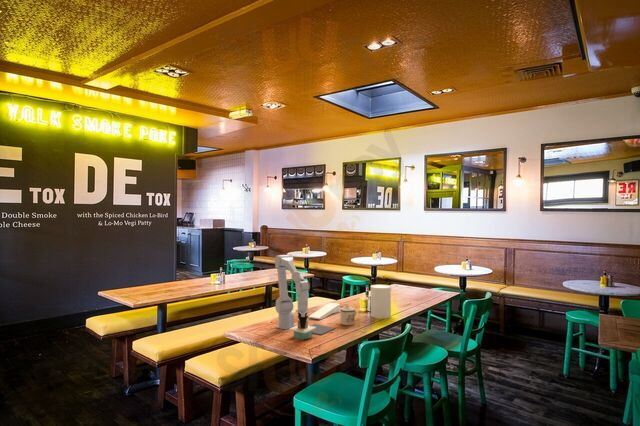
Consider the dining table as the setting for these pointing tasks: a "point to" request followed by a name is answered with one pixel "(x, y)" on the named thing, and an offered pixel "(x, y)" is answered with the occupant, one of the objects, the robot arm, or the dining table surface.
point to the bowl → (302, 335)
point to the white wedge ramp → (326, 311)
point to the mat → (321, 329)
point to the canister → (380, 301)
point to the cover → (302, 330)
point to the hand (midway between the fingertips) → (302, 326)
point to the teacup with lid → (347, 315)
